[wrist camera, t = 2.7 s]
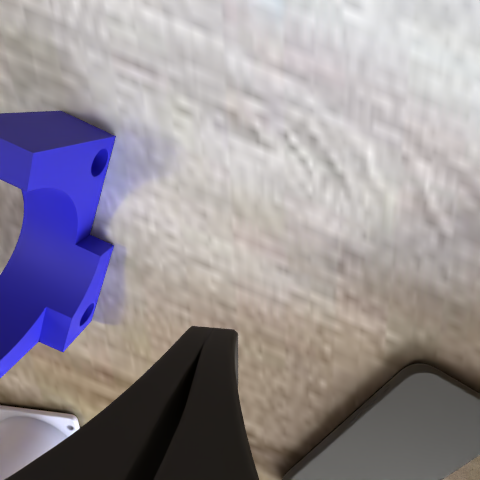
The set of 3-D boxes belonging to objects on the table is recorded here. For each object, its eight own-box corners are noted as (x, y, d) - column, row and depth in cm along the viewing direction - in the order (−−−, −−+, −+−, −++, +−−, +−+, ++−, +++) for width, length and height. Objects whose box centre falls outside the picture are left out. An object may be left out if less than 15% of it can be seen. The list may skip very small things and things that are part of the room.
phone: (274, 491, 25) (419, 364, 19) (274, 480, 25) (414, 353, 19) (358, 536, 25) (526, 426, 19) (356, 523, 26) (517, 413, 20)
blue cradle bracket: (91, 320, 22) (25, 394, 17) (27, 292, 22) (-62, 356, 16) (142, 148, 17) (73, 171, 12) (61, 110, 17) (-49, 115, 12)
